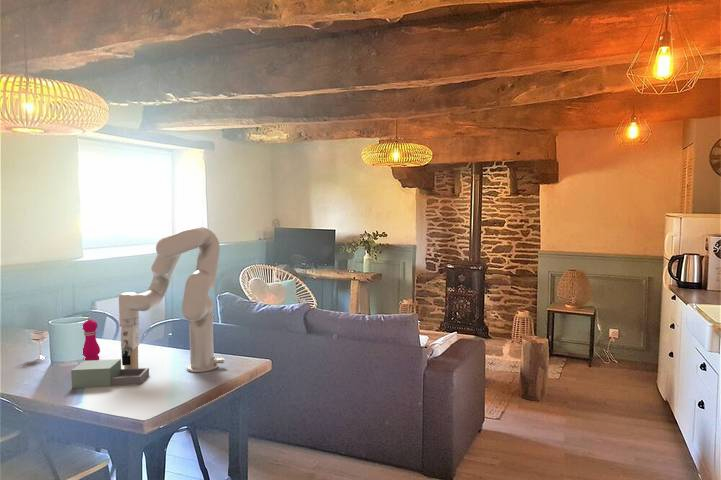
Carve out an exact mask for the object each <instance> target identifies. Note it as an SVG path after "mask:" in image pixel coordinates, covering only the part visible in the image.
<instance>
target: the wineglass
mask: <svg viewBox="0 0 721 480" xmlns="http://www.w3.org/2000/svg"><path fill="white" fill-rule="evenodd" d="M48 338H49V337H48V330H47V329H46V330H45V329H41V330H35V331H30V340H31V341H32V342H33V343H35V344H37V345H38V352H39V353H38V354H39V355H38V356H36V357H34V358H33V360H43V359H45V357H46V355H41V354H42V353H41V351H42V349H41V347H42V346H41V345H42V343H44V342H46V341H47V339H48ZM42 358H43V359H42ZM46 358H47V357H46Z"/></svg>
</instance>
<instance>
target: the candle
mask: <svg viewBox="0 0 721 480" xmlns="http://www.w3.org/2000/svg"><path fill="white" fill-rule="evenodd" d="M127 352H128V351H127ZM130 358H131V364H130V365H123V369H137V368H139V347H138V348H137V347H136V348H135V349H134V350H132V349H131V350H130Z"/></svg>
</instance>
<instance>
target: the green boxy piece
mask: <svg viewBox="0 0 721 480" xmlns="http://www.w3.org/2000/svg"><path fill="white" fill-rule="evenodd" d="M70 373H71V375H70V376H71V377H70V378H71V389H78V388H80V389H83V388H84V389H85V388H101V387H104V388H105V387H113V386H115V387H117V386H133V385H134V386H135V385H137V386H139V385H142V383H144V382H145V380H146V379H147V378H148V377H149V376H150V368H149V367H144V368H143V367H142V368H141V367H138V368H137V369H124V368H122V358H119V359H117V358H116V359H113V358H112V359H99V360H90V361H84V360H83V361H82V362H80V363H79V364H78V365H76V366H75V367H73V368H72V369H71V370H70Z"/></svg>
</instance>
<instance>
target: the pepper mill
mask: <svg viewBox="0 0 721 480" xmlns="http://www.w3.org/2000/svg"><path fill="white" fill-rule="evenodd" d="M84 322H85V323H84ZM84 322H83V323H84V324H83V323H82V326H83V328H82V330H83V331H84V332H83V335H84V338H85V339H84V340H85V341H84V344H83V346H84V348H83V347H82V349H83V354H82V355H83V357H86V358H85V361H90V360H100V355H99V354H100V353H101V347H100V345H99V344H98V342H97V337H96V336H97V329H98V322H97V321H95V320H93V317H91V316H88V317H87V320H86V321H84Z"/></svg>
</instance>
